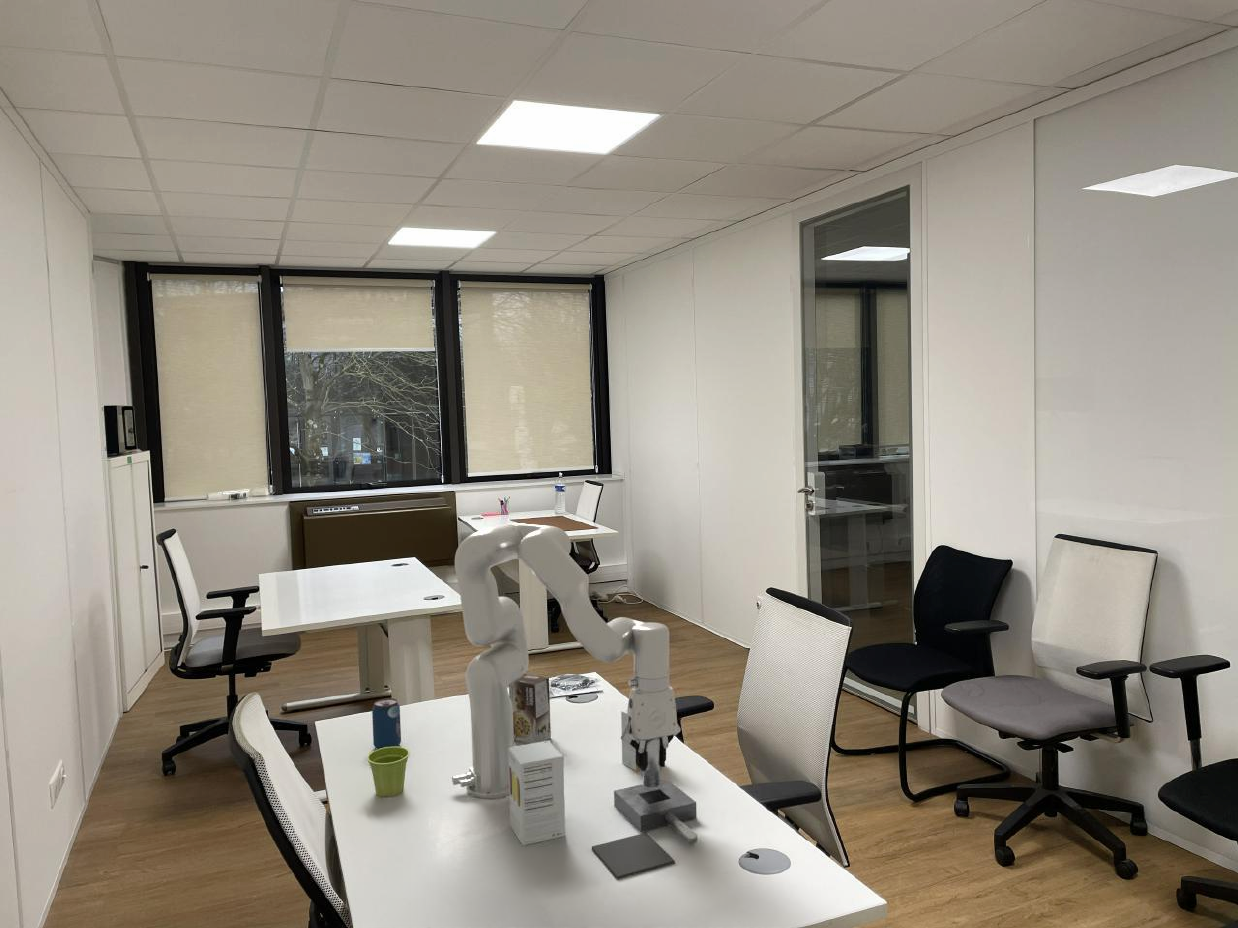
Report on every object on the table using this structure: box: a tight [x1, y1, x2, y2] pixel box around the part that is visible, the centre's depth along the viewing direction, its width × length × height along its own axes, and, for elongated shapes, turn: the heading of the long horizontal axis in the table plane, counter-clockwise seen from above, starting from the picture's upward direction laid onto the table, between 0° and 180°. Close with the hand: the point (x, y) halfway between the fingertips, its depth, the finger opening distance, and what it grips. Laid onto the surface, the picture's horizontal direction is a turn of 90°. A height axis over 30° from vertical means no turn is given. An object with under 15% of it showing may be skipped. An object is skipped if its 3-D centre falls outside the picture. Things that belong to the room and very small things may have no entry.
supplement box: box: [508, 740, 566, 846], centre depth 174 cm, size 10×9×17 cm
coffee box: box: [508, 673, 552, 744], centre depth 224 cm, size 9×6×16 cm
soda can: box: [371, 697, 402, 750], centre depth 220 cm, size 7×7×12 cm
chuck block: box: [613, 778, 698, 845], centre depth 176 cm, size 13×23×4 cm, turn 25°
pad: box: [591, 832, 676, 880], centre depth 163 cm, size 12×12×1 cm
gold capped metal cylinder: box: [641, 738, 661, 787], centre depth 181 cm, size 4×4×13 cm
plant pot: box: [366, 746, 411, 798], centre depth 194 cm, size 9×9×9 cm
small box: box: [620, 709, 641, 772], centre depth 206 cm, size 8×6×13 cm
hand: (650, 765), depth 181 cm, fingers closed on gold capped metal cylinder, 3 cm apart
